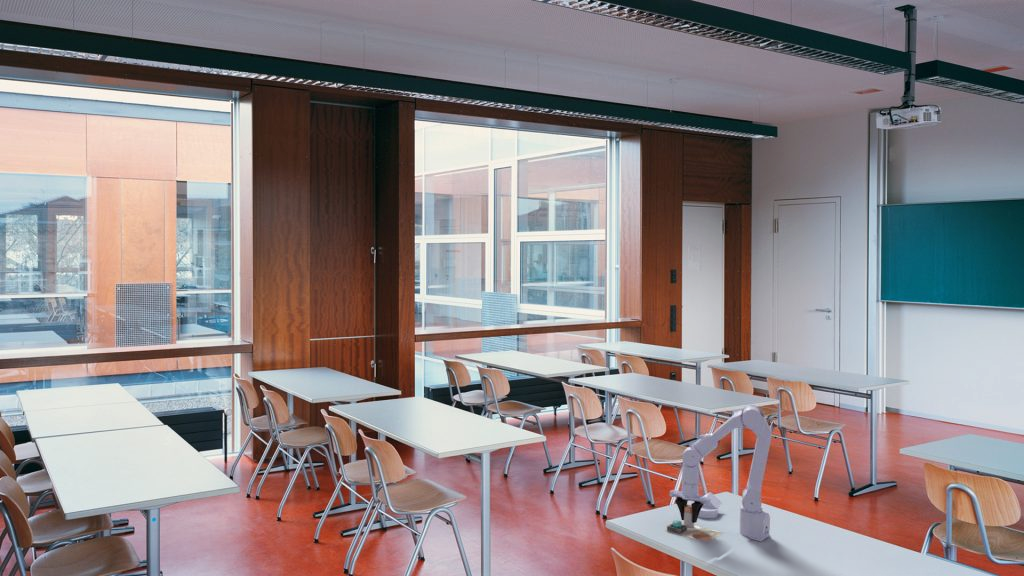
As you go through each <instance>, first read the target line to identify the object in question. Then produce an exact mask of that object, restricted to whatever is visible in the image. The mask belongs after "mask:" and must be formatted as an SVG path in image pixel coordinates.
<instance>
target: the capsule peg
mask: <svg viewBox="0 0 1024 576" xmlns="http://www.w3.org/2000/svg"><path fill="white" fill-rule="evenodd" d="M683 523H684V525H685V526H687V528H693V527H694V525H695V523H692V506H691V504H687V505H684V520H683Z"/></svg>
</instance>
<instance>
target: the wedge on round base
mask: <svg viewBox="0 0 1024 576" xmlns="http://www.w3.org/2000/svg"><path fill="white" fill-rule="evenodd" d="M703 496H704V497H706V498H710V504H709V505H705V504H704V505H703V506H702V508H701V510H700V512H699V515H698V518H702V519H715V518H717V517H718V514H719V513H718V511H719V508H720V506H721V505H722V503H723V502H722V501H721V500H720V499H719V498H718V497H716V495H714V494H713V493H712V492H711V491H709V492H708V493H706V494H704V495H703Z"/></svg>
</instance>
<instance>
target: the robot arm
mask: <svg viewBox="0 0 1024 576" xmlns="http://www.w3.org/2000/svg"><path fill="white" fill-rule="evenodd" d="M745 427H746V428H748V429H749V430H751V431H752V432H753V433H754V435H755V436H756V441H755V445H754V451H753V455H752V461H751V464H750V465H751V466H750V469H749V470H750V471H749V474H748V479H747V482H746V486H745V488H744V489H743V491H742V493H741V498H742V499H741V505H740V507H739V534H740V535H742V536H745V537H747V539H750V540H753V541H757V542H763V541H765V540H766V539H767V538H769V537H770V536H771V534H770V530H771V529H770V527H771V526H770V524H771V516H770V514H769V513H768V512H766V511H763V508H762V505H763V504H762V494H761V493H762V486H763V481H764V475H765V470H766V466H767V461H768V456H769V450H770V447H771V442H772V437H773V435H772V434H773V433H772V430H771V427H770V425H769V424H768V421H767V418H766V416H765V414H764V412H763V411H762V409H760V408H759V407H758V406H757V405H755V404H749V405H746V406H745V407H744V408H743V409H740V410H738V411H737V412H735V413H734V414H733V415H732V416H730V417H729V418H728V419H727V420H726V421H725V422H723V424H721V425H720V426H719V427H718V428H716V429H715V430H714V432H712V433H705V434H703V433H702V434H701V435H699V439H697V440H696V441H695V442H693V443H690V444H689V446H688V447H687V448H685V449H684V450H683V453H682V456H681V457H682V458H681V459H682V462H683V463H682V471H681V473H682V474H681V490H675V489H672V490H670V491H669V497H671V498H676V499H675V501H674V502H675V503H676V505H677V509H678V511H679V515H680V518H681V519H680V520H682V521H684V505H688V502H689V501H690V502H692V503H691V504H690V505H691V506H692V523H694V524H695V523H697V521H698V518H699V517H698V515H699V512H700V510H701V508H702V506H703V505H704V504H705V505H709V504H710V498H706V497H704V495H701V494H699V485H700V481H699V480H700V479H699V478H700V469H699V464H700V460H701V459H703V458H705V457H706V456H707V455H709V454H710V453H711V452H713V451H714V450H715V449H716V448H717V447H718V445H719V444H718V443H719V441H721V439H722V438H724V437H726V436H727V435H728V434H730V433H731V432H732V431H734V430H735V429H745Z"/></svg>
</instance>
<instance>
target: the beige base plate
mask: <svg viewBox="0 0 1024 576" xmlns="http://www.w3.org/2000/svg"><path fill="white" fill-rule="evenodd" d="M681 522H682V528H680V529H678V528H675V527H673V522H672V523H671V524H668V525H666V530H665V532H667V533H671V534H675V535H679V536H682V537H687V538H690V539H693V540H697V541H701V542H706V543H710V542H712V541H713V540H715V539H716V538H718V537H720V536H721V535H723V534H724V532H721V531H719V530H718V531H717V530H713V529H711V528H710V529H709V528H706V527H702V526H698V525H695V524H694V527H693V528H687V526H685V525H684V521H681Z"/></svg>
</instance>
